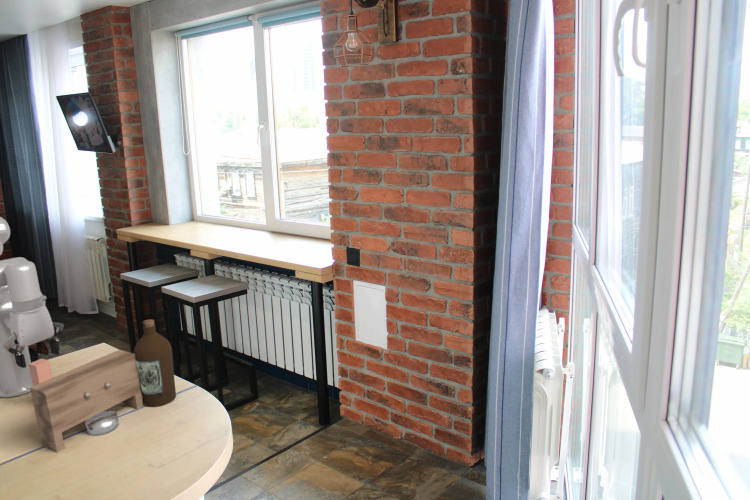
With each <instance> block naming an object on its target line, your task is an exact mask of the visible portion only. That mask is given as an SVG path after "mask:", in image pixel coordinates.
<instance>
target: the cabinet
mask: <svg viewBox="0 0 750 500" xmlns="http://www.w3.org/2000/svg"><path fill="white" fill-rule="evenodd" d="M133 353H134V352H130V351H127V350H126V351H125V350H122V349H118V350H115V351H113V352H111V353H108V354H106V355H103V356H101V357H98V358H97V359H94V360H91V361H90V362H87V363H84V364H83V365H80V366H77V367H75V368H73V369H70V370H69V371H66V372H64V373H61V374H59V375H57V376H53V378H51V379H49V380H47V381H44V382H42V383H40V384H37V385H35V386H33V387H30V390H31V391H30V394H31V400H32V403H33V409H34V415H35V420H36V424H37V428H38V433H39V438H40V443H41V446H43V447H45V448H47V449H50V450H52V451H53V452H55V453H58V452H60V451H62V450H65V441H64V439H63V433H64V432H65V431H68V430H69V429H72V428H73V427H74V426H78V425H79V424H81V423H83V422H85V421H86V420H87V419H89V418H91V417H93V416H95V415H97V414H99V413H101V412H104V411H108V409H110V408H112V407H114V406H116V405H118V404H120V403H121V404H122V405H123V406H127V407H130V408H133V409H136V410H138V409H141V408H142V407H143V406H144V403H143V400H142V394H141V389H140V383H139V376H138V370H137V364H136V359H135V354H133Z"/></svg>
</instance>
